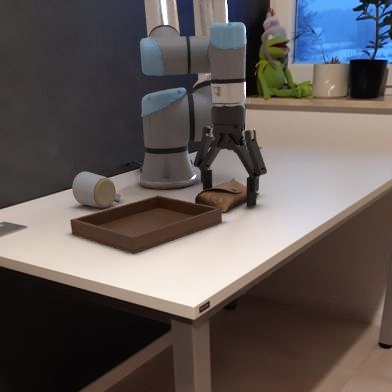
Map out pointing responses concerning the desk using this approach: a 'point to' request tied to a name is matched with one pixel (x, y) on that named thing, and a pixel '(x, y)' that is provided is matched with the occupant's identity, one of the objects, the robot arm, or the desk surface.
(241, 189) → the sunglasses case
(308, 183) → the desk surface
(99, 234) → the valet tray
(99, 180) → the ceramic mug
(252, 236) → the desk surface
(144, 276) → the desk surface
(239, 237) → the desk surface
